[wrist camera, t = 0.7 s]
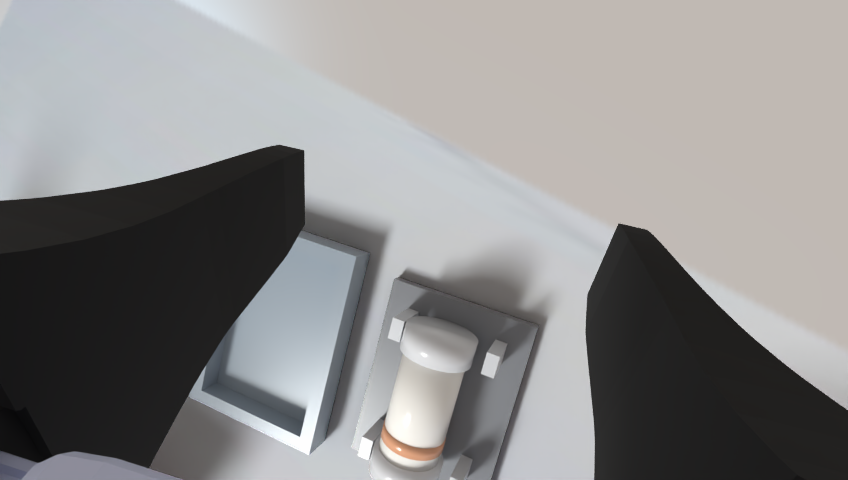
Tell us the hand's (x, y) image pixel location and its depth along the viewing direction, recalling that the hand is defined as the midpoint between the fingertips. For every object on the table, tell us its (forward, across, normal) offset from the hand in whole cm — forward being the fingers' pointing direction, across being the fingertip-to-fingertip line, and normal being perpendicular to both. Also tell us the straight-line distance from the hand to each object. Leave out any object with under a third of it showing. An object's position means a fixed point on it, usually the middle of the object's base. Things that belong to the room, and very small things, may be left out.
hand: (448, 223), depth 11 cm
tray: (+15, +12, +22) cm, 30 cm away
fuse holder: (+13, -1, +22) cm, 25 cm away
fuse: (+12, 0, +21) cm, 25 cm away
